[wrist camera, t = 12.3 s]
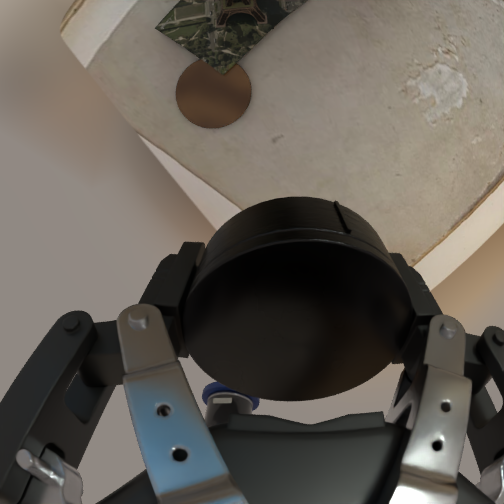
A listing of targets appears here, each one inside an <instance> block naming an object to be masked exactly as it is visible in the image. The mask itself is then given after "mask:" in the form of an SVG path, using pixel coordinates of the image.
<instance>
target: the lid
mask: <svg viewBox="0 0 504 504" xmlns="http://www.w3.org/2000/svg"><path fill="white" fill-rule="evenodd" d="M412 315H413V308H412V300H411V296H410V293H409V290H408V288H407V286H406V284H405V282H404V280H403V278H402V276H401V274H400V273H399V271H398V269H397V267H396V265H395V263H394V262H393V260H392V258H391V256H390V254H389V253H388V251H387V249H386V247H385V246H384V244H383V242H382V241H381V239H380V237H379V236H378V234H377V232H376V231H375V230H374V229H373V228H372V226H371V225H370V224H369V223H368V222H367V221H366V220H364V219H363V218H362V217H361V216H360V215H358V214H357V213H355V212H354V211H352V210H350V209H349V208H347V207H344V206H342V205H340V204H339V203H338V201H335V202H331V201H328V200H324V199H320V198H312V197H285V198H277V199H273V200H269V201H265V202H261V203H259V204H256V205H254V206H251V207H249V208H247V209H245V210H243V211H242V212H240V213H238V214H236V215H235V216H233V217H232V218H231V219H230V220H228V221H227V222H226V223H224V224H223V226H222V227H221V228H220V229H219V230H218V231H217V232H216V233H215V234H214V236H213V237H212V238H211V240H210V241H209V243H208V245H207V247H206V249H205V251H204V253H203V255H202V258H201V261H200V263H199V266H198V269H197V271H196V274H195V277H194V279H193V282H192V285H191V288H190V290H189V293H188V296H187V299H186V301H185V305H184V308H183V312H182V319H181V327H182V336H183V339H184V342H185V346H186V348H187V350H188V352H189V354H190V355H191V357H192V358H193V360H194V361H195V362H196V363H197V365H198V366H199V367H200V368H201V369H202V370H203V371H204V372H205V373H207V374H208V375H209V376H210V377H211V378H213V379H214V380H216V381H217V382H219V383H220V384H222V385H224V386H226V387H228V388H230V389H232V390H235V391H237V392H239V393H242V394H245V395H249V396H252V397H256V398H261V399H267V400H274V401H306V400H314V399H320V398H325V397H329V396H333V395H336V394H339V393H342V392H345V391H348V390H350V389H352V388H354V387H357V386H359V385H361V384H363V383H364V382H366V381H368V380H369V379H371V378H373V377H374V376H375V375H377V374H378V373H379V372H381V371H382V370H383V369H384V368H385V367H386V366H387V365H389V364H390V363H391V362H392V361H393V359H394V358H395V357H396V356H397V354H398V353H399V352H400V350H401V349H402V347H403V345H404V344H405V342H406V339H407V337H408V335H409V332H410V328H411V324H412Z"/></svg>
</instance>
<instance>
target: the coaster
mask: <svg viewBox="0 0 504 504" xmlns="http://www.w3.org/2000/svg"><path fill="white" fill-rule="evenodd" d="M250 99H251V84H250V81H249V78H248V76H247V74H246V73H245V71H244V70H243V69H242V68H241V67H240V66H239V65H238V64H235V65H234V66H232V67H231V68H230V69H229V70H228V71H227V72H226V73H225V74H224V75H222V74H221V73H219V72H218V71H217V70H216V69H214V68H213V67H211V66H210V65H209V64H207V63H206V62H204V61H203V60H202V59H200V60H198V61H196V62H194V63H193V64H191V65H190V66H189V67H188V68H186V70H185V71H184V72H183V73H182V75H181V76H180V78H179V80H178V83H177V87H176V101H177V104H178V107H179V109H180V111H181V112H182V114H183V115H184V116H185V117H186V118H187V119H188V120H189V121H190V122H192V123H194V124H195V125H198V126H201V127H204V128H220V127H224V126H227V125H229V124H231V123H233V122H234V121H236V120H237V119H238V118H240V117H241V115H242V114H243V113H244V112H245V110H246V109H247V107H248V105H249V102H250Z"/></svg>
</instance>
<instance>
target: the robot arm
mask: <svg viewBox="0 0 504 504" xmlns="http://www.w3.org/2000/svg"><path fill="white" fill-rule="evenodd" d="M204 251H205V244H204V243H203V242H184V243H183V245H182V247H181V249H180V251H179V253H178V254H170V255H168V256H167V257H166V258H164V259H163V260H162V261H161V262H160V264H159V266H158V267H157V269H156V272H155V273H154V275H153V276H152V279H151V280H150V282H149V284H148V286H147V288H146V290H145V292H144V293H143V295H142V297H141V299H140V301H139V303H138V304H136V305H132V306H130V307H128V308H126V309H124V310H123V311H122V312H121V313H120V314H119V316H118V318H117V320H114V321H107V322H98V323H94V322H93V320H92V318H91V316H90V315H89V314H88V313H87V312H84V311H71V312H68V313H66V314H65V315H63V316H62V317H60V318H59V319H58V320H57V321H56V323H55V324H54V325H53V327H52V328H51V329H50V330H49V332H48V333H47V335H46V336H45V337H44V339H43V340H42V341H41V343H40V344H39V345H38V347H37V348H36V350H35V351H34V352H33V354H32V355H31V357H30V358H29V359H28V361H27V362H26V364H25V365H24V367H23V368H22V370H21V371H20V373H19V374H18V376H17V377H16V379H15V380H14V382H13V383H12V385H11V386H10V388H9V390H8V391H7V393H6V394H5V396H4V398H3V399H2V401H1V402H0V504H82V501H81V496H82V494H83V482H82V478H81V476H80V474H79V472H78V471H77V468H78V466H79V464H80V462H81V459H82V457H83V455H84V453H85V450H86V448H87V446H88V443H89V441H90V439H91V437H92V435H93V432H94V430H95V428H96V426H97V424H98V422H99V419H100V417H101V415H102V413H103V411H104V409H105V407H106V405H107V403H108V401H109V399H110V397H111V395H112V393H113V391H114V389H115V387H116V385H121V384H123V385H124V390H125V394H126V399H127V403H128V407H129V411H130V415H131V419H132V423H133V427H134V430H135V434H136V437H137V441H138V444H139V448H140V451H141V454H142V457H143V460H144V463H145V466H146V469H145V470H144V471H143V472H141V473H140V474H139V475H137V476H136V477H134V478H133V479H132V480H130V481H129V482H127V483H126V484H125V485H123V486H122V487H120V488H119V489H117V490H116V491H114V492H113V493H111V494H110V495H108V496H107V497H105V498H104V499H103V500H101V501H99V502H98V503H96V504H504V330H502V329H500V328H499V327H496V326H489V327H487V328H486V329H485V330H484V332H483V334H482V335H481V336H476V335H472V334H467V333H465V329H464V328H463V326H462V325H461V323H460V322H459V321H458V320H456V319H455V318H453V317H451V316H448V315H444V314H443V313H442V311H441V309H440V308H439V306H438V304H437V302H436V300H435V299H434V297H433V295H432V294H431V292H429V291H430V290H429V288H428V287H427V285H425V281H424V280H423V278H422V276H421V275H420V274H419V273H418V272H417V271H416V270H415V269H413V268H412V267H411V266H408V265H407V263H406V261H405V260H404V258H403V256H402V255H401V254H400V253H389V254H390V256H391V258H392V260H393V262H394V263H395V265H396V267H397V269H398V271H399V273H400V274H401V276H402V278H403V280H404V282H405V284H406V286H407V288H408V290H409V293H410V296H411V300H412V308H413V315H412V324H411V328H410V332H409V335H408V337H407V339H406V342H405V344H404V345H403V347H402V349H401V350H400V352H399V353H398V354H397V356H396V357H395V358H394V359H393V361H392V364H400V363H404V366H405V368H404V370H403V371H402V373H401V375H400V379H399V382H398V385H397V388H396V391H395V394H394V397H393V400H392V403H391V406H390V409H389V412H388V414H387V416H386V418H385V419H384V414H383V412H382V411H381V412H372V413H360V414H348V415H345V416H341V417H339V418H335V419H331V420H328V421H324V422H320V423H316V424H303V423H299V422H294V421H290V420H286V419H282V418H278V417H274V416H270V415H253V414H252V408H253V401H252V399H251V398H250V397H249V396H247V395H245V394H242V393H239V392H237V391H231V390H221V391H216V392H213V393H211V394H210V395H209V396H208V401H207V403H208V404H207V410H206V414H205V420H204V418H203V416H202V414H201V411H200V409H199V407H198V405H197V402H196V400H195V398H194V395H193V393H192V390H191V388H190V386H189V383H188V381H187V378H186V376H185V373H184V371H183V368H182V366H181V363H180V361H179V360H178V357H183V358H188V356H189V352H188V350H187V348H186V346H185V342H184V339H183V336H182V327H181V319H182V312H183V308H184V305H185V301H186V299H187V296H188V293H189V290H190V288H191V285H192V282H193V279H194V277H195V274H196V271H197V269H198V266H199V263H200V261H201V258H202V255H203V253H204ZM76 373H77V374H76ZM75 374H76V375H75ZM74 376H75V377H74ZM73 378H74V379H73ZM491 378H493V379H494V381H495V383H496V385H497V387H498V389H499V391H500V393H501V395H502V398H503V406H502V409H501V410H500V411H499V412H498V413H497V411H496V409H495V407H494V404H493V402H492V400H491V398H490V396H489V394H488V392H487V390H486V388H485V385H486V384H487V383H488V382H489V381H490V379H491ZM72 379H73V380H72ZM71 381H72V382H71ZM70 383H71V384H70ZM68 386H69V387H68ZM67 388H68V389H67ZM66 390H67V391H66ZM466 433H467V435H468V438H469V441H470V444H471V446H472V449H473V452H474V455H475V458H476V461H477V464H478V467H479V471H480V474H481V478H480V482H478V483H477V484H476V485H474V484H472V483H471V482H470V481H469V480H468V479H467V478H465V477H464V476H463V475H462V474H461V473H460V472H459V471H458V470H459V466H460V461H461V457H462V453H463V448H464V442H465V437H466Z"/></svg>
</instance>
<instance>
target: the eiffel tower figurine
mask: <svg viewBox="0 0 504 504" xmlns="http://www.w3.org/2000/svg"><path fill="white" fill-rule="evenodd" d="M306 1H307V0H180V1H179V2H178V3H177V4H176V5H175V6H174V8H173V9H172V10H171V11H170V12H169V13H168V14H167V15H166V16H165V17H164V18H163V19H162V21H161V22H160V23H159V24H158V25H157V26H156V27H155V29H157V30H158V31H160V32H162V33H163V34H165V35H166V36H168V37H169V38H171V39H172V40H174V41H175V42H177V43H178V44H180V45H181V46H183V47H184V48H186V49H187V50H189V51H190V52H192V53H193V54H194V55H196V56H197V57H199V58H200V59H202V60H203V61H204V62H206V63H207V64H209V65H210V66H211V67H213V68H214V69H216V70H217V71H218V72H219V73H221V74H222V75H224V74H225V73H226V72H227V71H228V70H229V69H230V68H231V67H232V66H234V65H235V64H236V63H237V62H238V61H239V60H240V59H241V58H242V57H243V56H244V55H245V54H246V53H247V52H248V51H249V50H251V49H252V48H253V47H254V46H255V45H256V44H257V43H258V42H259V41H260V40H261V39H262V38H263V37H264V36H265V35H266V34H267V33H268V32H269V31H270V30H271V29H274V27H275V26H276V25H277V24H278V23H279V22H280V21H281V20H283V19H284V18H285V17H286V16H287V15H289V14H290V13H291V12H292V11H294V10H295V9H296V8H298V7H299V6H300V5H302V4H303V3H304V2H306Z"/></svg>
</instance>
